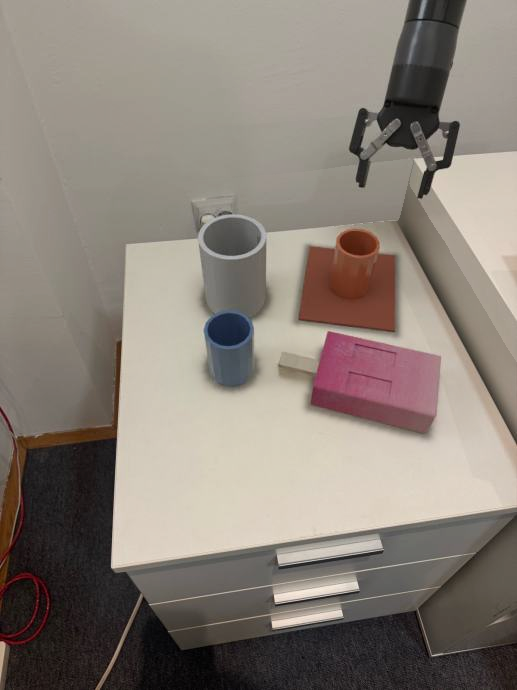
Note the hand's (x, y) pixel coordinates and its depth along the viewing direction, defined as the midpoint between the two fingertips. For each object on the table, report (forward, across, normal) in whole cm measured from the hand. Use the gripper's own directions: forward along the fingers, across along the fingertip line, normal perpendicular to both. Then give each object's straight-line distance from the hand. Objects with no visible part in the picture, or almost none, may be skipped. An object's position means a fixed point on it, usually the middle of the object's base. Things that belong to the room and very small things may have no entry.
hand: (390, 192), depth 71 cm
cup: (+18, -18, -10) cm, 28 cm away
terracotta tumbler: (+14, -3, -2) cm, 15 cm away
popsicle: (+24, +3, -17) cm, 29 cm away
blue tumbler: (+25, -13, -20) cm, 35 cm away
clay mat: (+15, -2, -2) cm, 15 cm away
